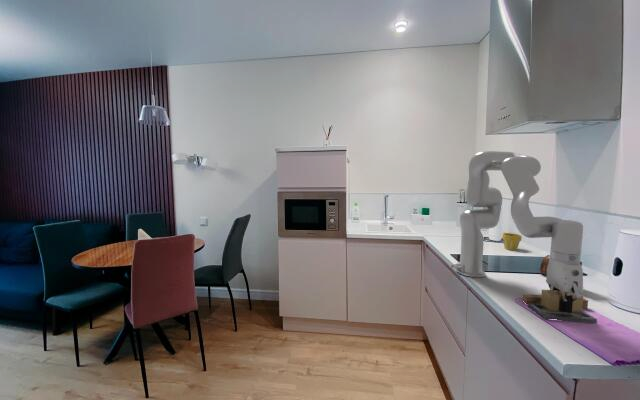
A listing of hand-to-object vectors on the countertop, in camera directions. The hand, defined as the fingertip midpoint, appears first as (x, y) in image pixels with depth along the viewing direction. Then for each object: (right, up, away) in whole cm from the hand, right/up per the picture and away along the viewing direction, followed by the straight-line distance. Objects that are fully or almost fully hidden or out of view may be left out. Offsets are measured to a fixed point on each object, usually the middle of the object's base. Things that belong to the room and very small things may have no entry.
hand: (560, 308), depth 91 cm
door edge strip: (+4, -2, +7) cm, 8 cm away
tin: (+30, +1, +40) cm, 50 cm away
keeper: (0, -2, 0) cm, 2 cm away
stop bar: (0, -1, 0) cm, 1 cm away
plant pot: (+44, +5, +83) cm, 94 cm away
